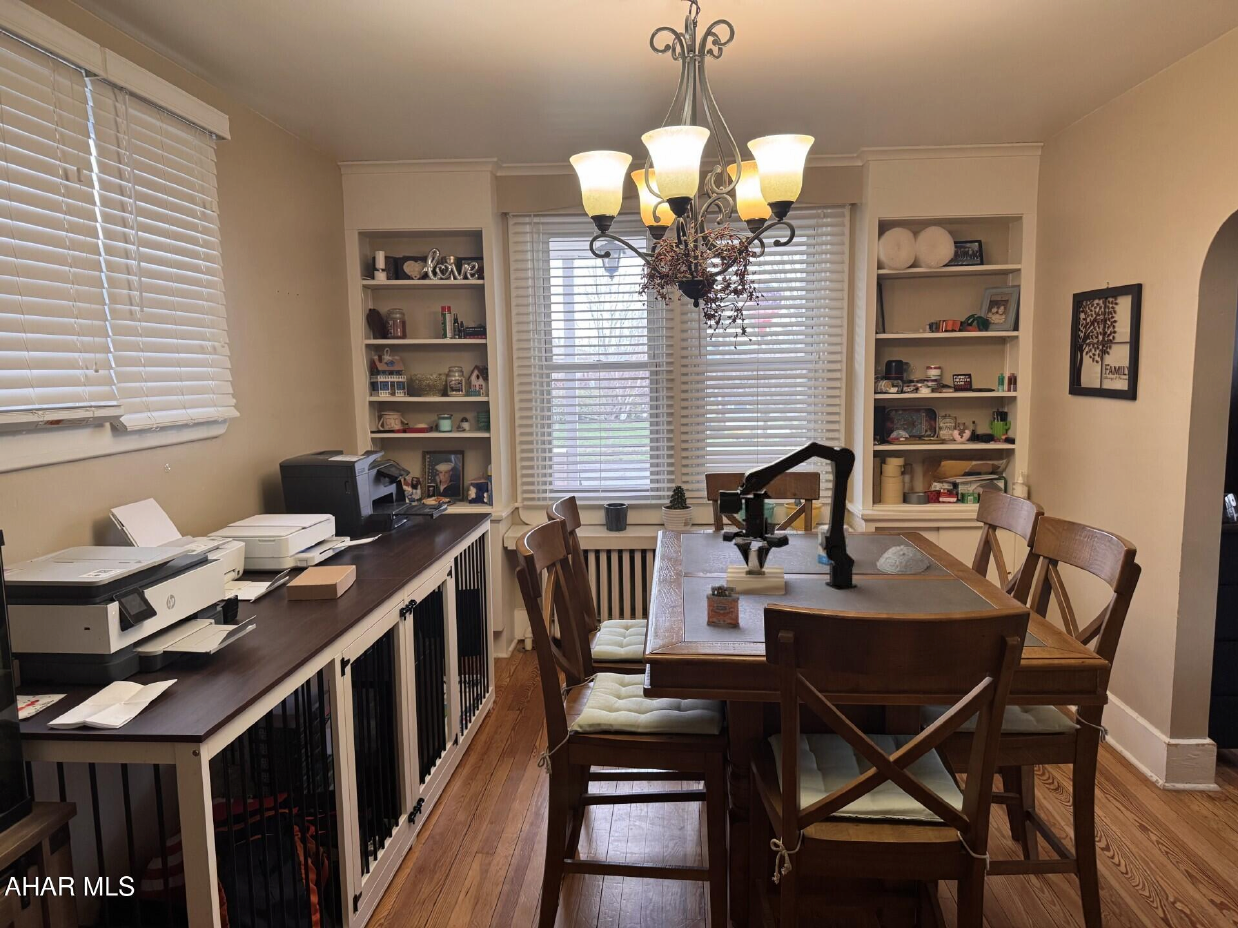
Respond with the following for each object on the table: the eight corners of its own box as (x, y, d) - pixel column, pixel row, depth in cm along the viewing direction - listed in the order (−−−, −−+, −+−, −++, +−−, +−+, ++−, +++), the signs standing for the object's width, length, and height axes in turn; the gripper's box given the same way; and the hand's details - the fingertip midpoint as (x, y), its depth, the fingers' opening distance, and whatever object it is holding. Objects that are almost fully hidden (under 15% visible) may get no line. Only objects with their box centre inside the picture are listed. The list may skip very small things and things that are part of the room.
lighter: (705, 626, 192) (704, 586, 191) (708, 622, 195) (708, 582, 194) (737, 629, 189) (737, 588, 188) (740, 624, 192) (740, 584, 191)
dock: (784, 594, 217) (784, 580, 217) (726, 593, 220) (726, 579, 220) (782, 579, 233) (782, 566, 233) (728, 578, 236) (728, 565, 235)
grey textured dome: (931, 557, 255) (929, 536, 254) (926, 579, 233) (924, 557, 232) (881, 558, 262) (879, 538, 261) (872, 580, 239) (869, 559, 238)
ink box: (827, 565, 249) (827, 528, 248) (817, 562, 254) (817, 525, 252) (849, 562, 252) (849, 525, 251) (838, 559, 257) (839, 523, 256)
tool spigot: (765, 577, 225) (764, 549, 224) (752, 578, 224) (752, 551, 223) (758, 574, 229) (757, 546, 228) (745, 575, 227) (745, 548, 227)
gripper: (797, 512, 224) (798, 566, 226) (741, 507, 236) (741, 558, 238) (778, 518, 216) (779, 574, 218) (720, 512, 228) (721, 565, 230)
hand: (755, 567), depth 226 cm, fingers closed on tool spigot, 4 cm apart
